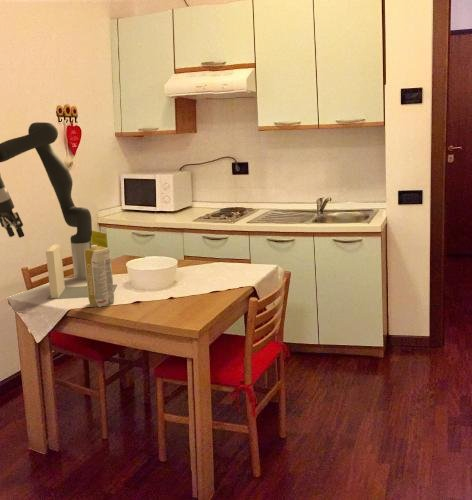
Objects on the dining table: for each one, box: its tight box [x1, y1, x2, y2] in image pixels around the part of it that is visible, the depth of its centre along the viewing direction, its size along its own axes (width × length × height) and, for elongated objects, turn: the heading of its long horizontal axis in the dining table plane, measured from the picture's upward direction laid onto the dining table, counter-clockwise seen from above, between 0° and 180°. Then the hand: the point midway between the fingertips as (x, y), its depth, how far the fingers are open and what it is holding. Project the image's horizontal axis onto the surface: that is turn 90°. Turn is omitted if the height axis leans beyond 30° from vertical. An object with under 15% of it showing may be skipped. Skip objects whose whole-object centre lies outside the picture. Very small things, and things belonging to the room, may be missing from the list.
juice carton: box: [84, 244, 115, 308], centre depth 256 cm, size 9×8×24 cm
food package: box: [91, 230, 109, 248], centre depth 307 cm, size 15×1×20 cm, turn 41°
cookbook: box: [45, 243, 66, 298], centre depth 273 cm, size 3×14×20 cm, turn 3°
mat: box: [45, 284, 118, 301], centre depth 276 cm, size 27×18×1 cm, turn 93°
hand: (17, 236), depth 262 cm, fingers open, 8 cm apart
